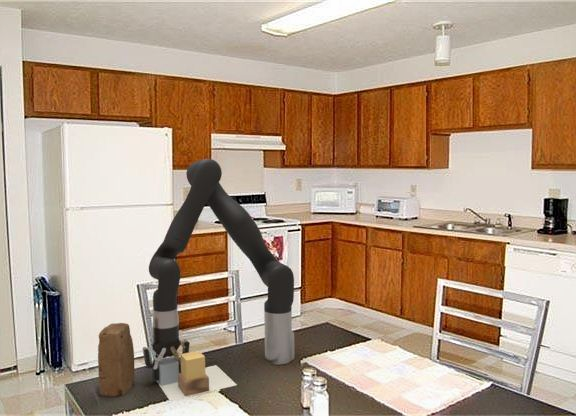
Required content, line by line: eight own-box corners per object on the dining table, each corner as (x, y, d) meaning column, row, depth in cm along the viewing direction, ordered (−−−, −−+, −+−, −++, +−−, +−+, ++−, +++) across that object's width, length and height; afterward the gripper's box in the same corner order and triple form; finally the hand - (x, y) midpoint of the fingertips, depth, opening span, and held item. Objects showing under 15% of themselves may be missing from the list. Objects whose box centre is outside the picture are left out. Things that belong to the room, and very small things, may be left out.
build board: (216, 368, 161) (216, 365, 161) (237, 388, 147) (237, 384, 146) (154, 382, 152) (154, 378, 152) (170, 405, 137) (170, 400, 137)
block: (121, 401, 139) (119, 332, 138) (96, 400, 140) (93, 331, 139) (138, 384, 150) (136, 320, 148) (115, 383, 151) (112, 319, 149)
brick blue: (173, 375, 154) (173, 356, 153) (179, 381, 149) (178, 362, 148) (156, 379, 151) (155, 359, 151) (160, 385, 146) (160, 366, 146)
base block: (201, 381, 149) (200, 368, 149) (209, 390, 143) (208, 377, 142) (178, 386, 146) (177, 373, 145) (185, 396, 139) (185, 382, 139)
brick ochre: (199, 370, 148) (198, 350, 147) (205, 376, 143) (204, 356, 142) (181, 374, 145) (180, 354, 144) (186, 381, 140) (186, 360, 140)
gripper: (185, 316, 155) (186, 368, 157) (138, 323, 148) (140, 378, 150) (192, 323, 149) (194, 377, 150) (144, 331, 142) (146, 387, 143)
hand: (167, 377), depth 150 cm, fingers open, 6 cm apart
